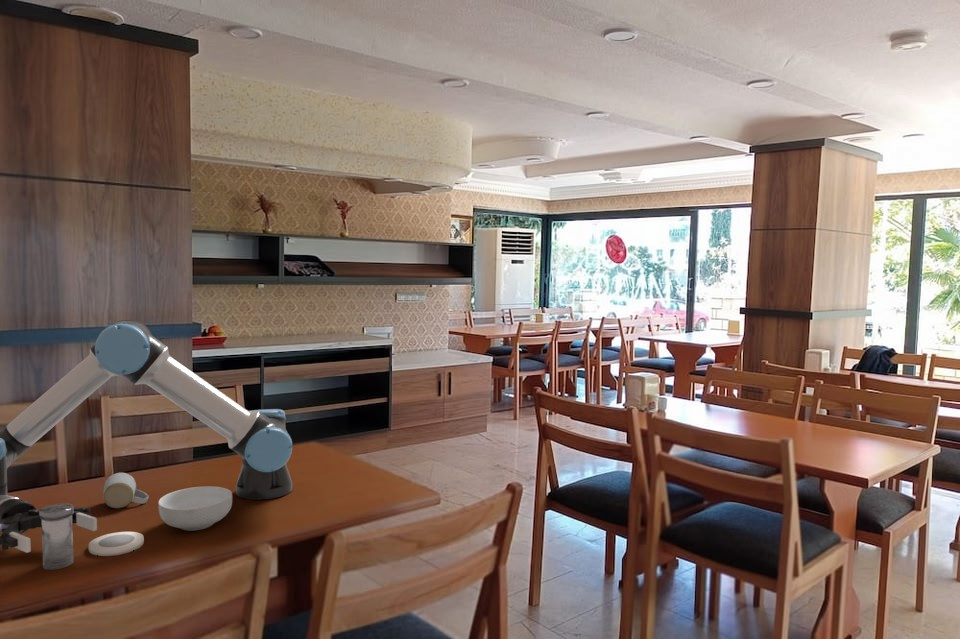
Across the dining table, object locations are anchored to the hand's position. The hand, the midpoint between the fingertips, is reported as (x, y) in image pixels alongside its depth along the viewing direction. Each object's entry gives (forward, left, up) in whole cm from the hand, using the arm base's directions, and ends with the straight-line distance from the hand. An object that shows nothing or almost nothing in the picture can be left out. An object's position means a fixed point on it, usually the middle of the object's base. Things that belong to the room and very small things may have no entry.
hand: (63, 534), depth 147 cm
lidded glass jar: (+2, -1, -7) cm, 7 cm away
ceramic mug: (+8, -39, -7) cm, 40 cm away
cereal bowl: (-17, -25, -7) cm, 31 cm away
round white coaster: (-5, -11, -7) cm, 14 cm away
